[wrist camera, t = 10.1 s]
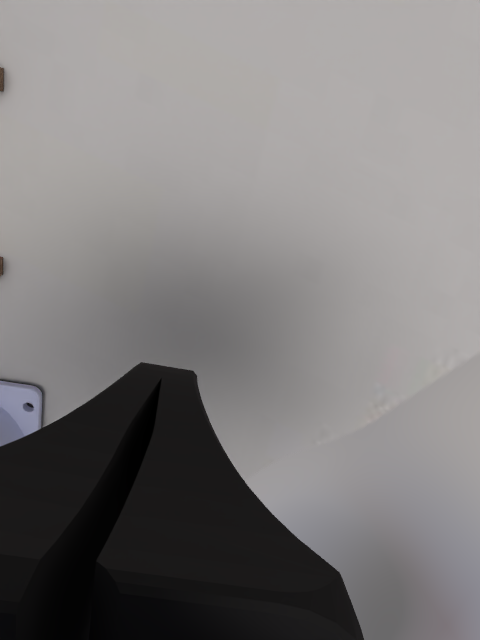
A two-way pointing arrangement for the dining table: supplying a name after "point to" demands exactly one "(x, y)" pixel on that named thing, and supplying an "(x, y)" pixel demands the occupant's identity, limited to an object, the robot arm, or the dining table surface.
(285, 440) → the dining table surface
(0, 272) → the slot comb
